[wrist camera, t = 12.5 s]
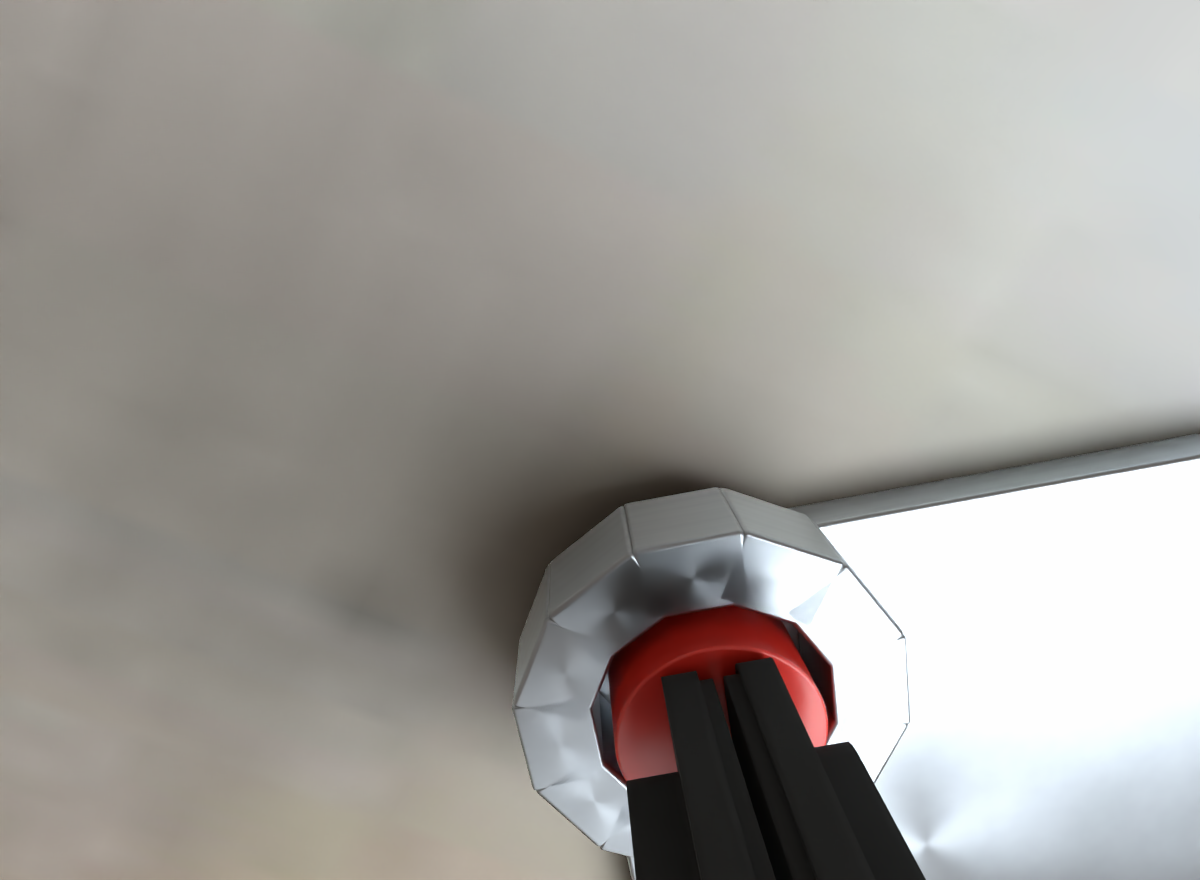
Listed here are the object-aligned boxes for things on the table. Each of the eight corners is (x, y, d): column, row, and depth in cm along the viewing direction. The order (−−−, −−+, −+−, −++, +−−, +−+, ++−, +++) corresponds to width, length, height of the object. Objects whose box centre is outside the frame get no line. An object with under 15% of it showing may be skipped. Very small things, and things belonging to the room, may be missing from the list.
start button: (592, 604, 12) (597, 669, 10) (784, 569, 12) (820, 628, 10) (624, 759, 13) (633, 841, 11) (801, 727, 13) (837, 805, 11)
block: (501, 479, 14) (477, 578, 10) (1163, 357, 14) (1389, 413, 10) (633, 1036, 19) (650, 1243, 15) (1122, 951, 19) (1263, 1139, 15)
